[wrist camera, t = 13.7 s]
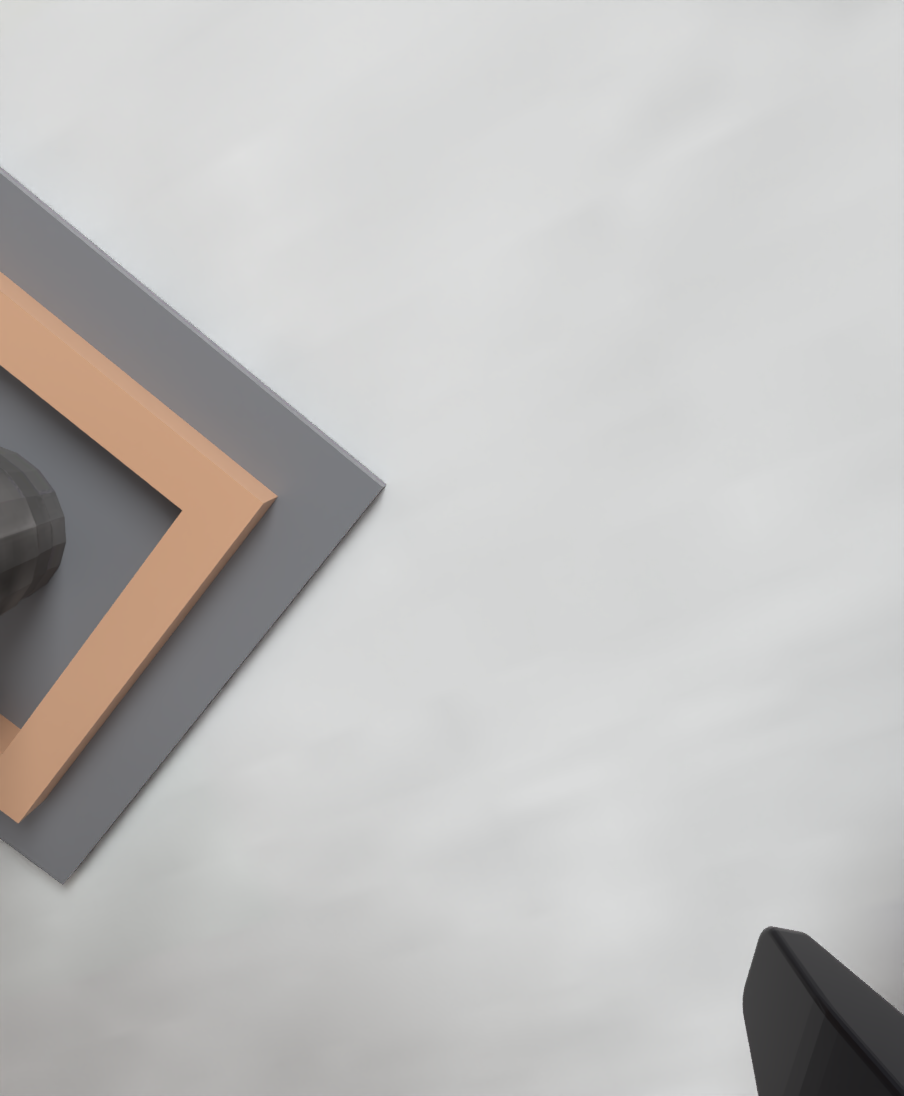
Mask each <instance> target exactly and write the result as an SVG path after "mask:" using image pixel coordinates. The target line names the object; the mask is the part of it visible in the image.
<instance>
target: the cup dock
mask: <svg viewBox="0 0 904 1096" xmlns="http://www.w3.org/2000/svg"><path fill="white" fill-rule="evenodd" d="M0 447H3V448H5V449H8V450H10V451H13V452H16V453H18V454H19V455H20V456H22V457H23V458H24V459H26V460H27V461H28V462H30V463H31V464H32V465H33V466H35V467H36V468H37V469H39V470H40V472H41V473H42V475H43V476H44V477H45V479H46V480H47V481H48V483H49V484H50V485H51V487H52V488H53V489H54V491H55V493H56V495H57V498H58V501H59V503H60V506H61V509H62V511H63V514H64V517H65V533H66V544H65V548H64V551H63V555H62V559H61V563H60V565H59V567H58V568H57V570H56V571H55V573H54V574H53V576H52V577H51V579H50V580H49V582H48V583H47V584H46V585H44V586H43V587H41V588H40V589H39V590H37V591H36V592H34V593H33V594H31V595H30V596H29V597H26V598H24V599H22V600H20V601H19V602H18V604H17V605H16V606H14V607H13V608H12V609H10V610H9V611H7V612H6V613H4V614H3V615H1V616H0V838H1V839H2V840H3V841H5V842H6V843H7V844H9V845H10V846H11V847H13V848H14V849H15V850H17V851H18V852H19V853H21V854H22V855H23V856H25V857H26V858H27V859H29V860H30V861H32V862H33V863H34V864H36V865H37V866H38V867H40V868H41V869H42V870H44V871H45V872H46V873H48V874H49V875H50V876H52V877H53V878H54V879H56V880H57V881H58V882H60V883H61V884H64V883H65V882H66V880H67V879H68V878H69V877H70V876H71V875H72V874H73V873H74V871H75V870H76V869H77V868H78V867H79V865H80V864H81V863H82V862H83V860H84V859H85V858H86V857H87V855H88V854H89V853H90V852H91V850H92V849H93V848H94V847H95V845H96V844H97V843H98V842H99V840H100V839H101V838H102V837H103V835H104V834H105V833H106V832H107V830H108V829H109V828H110V827H111V826H112V824H113V823H114V822H115V821H116V819H117V818H118V817H119V816H120V814H121V813H122V812H123V811H124V809H125V808H126V807H127V806H128V804H129V803H130V802H131V801H132V799H133V798H134V797H135V796H136V794H137V793H138V792H139V791H140V789H141V788H142V787H143V786H144V785H145V783H146V782H147V781H148V780H149V778H150V777H151V776H152V775H153V773H154V772H155V771H156V770H157V768H158V767H159V766H160V765H161V763H162V762H163V761H164V760H165V758H166V757H167V756H168V755H169V753H170V752H171V751H172V750H173V748H174V747H175V746H176V745H177V744H178V742H179V741H180V740H181V739H182V737H183V736H184V735H185V734H186V732H187V731H188V730H189V729H190V727H191V726H192V725H193V724H194V722H195V721H196V720H197V719H198V717H199V716H200V715H201V714H202V712H203V711H204V710H205V709H206V707H207V706H208V705H209V704H210V703H211V701H212V700H213V699H214V698H215V696H216V695H217V694H218V693H219V691H220V690H221V689H222V688H223V686H224V685H225V684H226V683H227V681H228V680H229V679H230V678H231V676H232V675H233V674H234V673H235V671H236V670H237V669H238V668H239V666H240V665H241V664H242V663H243V662H244V660H245V659H246V658H247V657H248V655H249V654H250V653H251V652H252V650H253V649H254V648H255V647H256V645H257V644H258V643H259V642H260V640H261V639H262V638H263V637H264V635H265V634H266V633H267V632H268V630H269V629H270V628H271V627H272V625H273V624H274V623H275V622H276V621H277V619H278V618H279V617H280V616H281V614H282V613H283V612H284V611H285V609H286V608H287V607H288V606H289V604H290V603H291V602H292V601H293V599H294V598H295V597H296V596H297V594H298V593H299V592H300V591H301V589H302V588H303V587H304V586H305V584H306V583H307V582H308V581H309V580H310V578H311V577H312V576H313V575H314V573H315V572H316V571H317V570H318V568H319V567H320V566H321V565H322V563H323V562H324V561H325V560H326V558H327V557H328V556H329V555H330V553H331V552H332V551H333V550H334V548H335V547H336V546H337V545H338V543H339V542H340V541H341V540H342V539H343V537H344V536H345V535H346V534H347V532H348V531H349V530H350V529H351V527H352V526H353V525H354V524H355V522H356V521H357V520H358V519H359V517H360V516H361V515H362V514H363V512H364V511H365V510H366V509H367V507H368V506H369V505H370V504H371V502H372V501H373V500H374V499H375V498H376V496H377V495H378V494H379V493H380V491H381V490H382V489H383V488H384V486H385V485H386V484H385V483H384V482H383V481H382V480H381V479H379V478H378V477H377V476H376V475H374V474H373V473H372V472H371V471H370V470H368V469H367V468H366V467H365V466H364V465H362V464H361V463H360V462H359V461H357V460H356V459H355V458H354V457H353V456H351V455H350V454H349V453H348V452H347V451H345V450H344V449H343V448H342V447H340V446H339V445H338V444H337V443H336V442H334V441H333V440H332V439H331V438H330V437H328V436H327V435H326V434H325V433H323V432H322V431H321V430H320V429H319V428H317V427H316V426H315V425H314V424H312V423H311V422H310V421H309V420H308V419H306V418H305V417H304V416H303V415H302V414H300V413H299V412H298V411H297V410H295V409H294V408H293V407H292V406H291V405H289V404H288V403H287V402H286V401H285V400H283V399H282V398H281V397H280V396H278V395H277V394H276V393H275V392H274V391H272V390H271V389H270V388H269V387H268V386H266V385H265V384H264V383H263V382H261V381H260V380H259V379H258V378H257V377H255V376H254V375H253V374H252V373H250V372H249V371H248V370H247V369H246V368H244V367H243V366H242V365H241V364H240V363H238V362H237V361H236V360H235V359H233V358H232V357H231V356H230V355H229V354H227V353H226V352H225V351H224V350H223V349H221V348H220V347H219V346H218V345H216V344H215V343H214V342H213V341H212V340H210V339H209V338H208V337H207V336H205V335H204V334H203V333H202V332H201V331H199V330H198V329H197V328H196V327H195V326H193V325H192V324H191V323H190V322H188V321H187V320H186V319H185V318H184V317H182V316H181V315H180V314H179V313H178V312H176V311H175V310H174V309H173V308H171V307H170V306H169V305H168V304H167V303H165V302H164V301H163V300H162V299H161V298H159V297H158V296H157V295H156V294H154V293H153V292H152V291H151V290H150V289H148V288H147V287H146V286H145V285H143V284H142V283H141V282H140V281H139V280H137V279H136V278H135V277H134V276H133V275H131V274H130V273H129V272H128V271H126V270H125V269H124V268H123V267H122V266H120V265H119V264H118V263H117V262H116V261H114V260H113V259H112V258H111V257H109V256H108V255H107V254H106V253H105V252H103V251H102V250H101V249H100V248H99V247H97V246H96V245H95V244H94V243H92V242H91V241H90V240H89V239H88V238H86V237H85V236H84V235H83V234H81V233H80V232H79V231H78V230H77V229H75V228H74V227H73V226H72V225H71V224H69V223H68V222H67V221H66V220H64V219H63V218H62V217H61V216H60V215H58V214H57V213H56V212H55V211H54V210H52V209H51V208H50V207H49V206H47V205H46V204H45V203H44V202H43V201H41V200H40V199H39V198H38V197H37V196H35V195H34V194H33V193H32V192H30V191H29V190H28V189H27V188H26V187H24V186H23V185H22V184H21V183H19V182H18V181H17V180H16V179H15V178H13V177H12V176H11V175H10V174H9V173H7V172H6V171H5V170H4V169H2V168H1V167H0Z"/></svg>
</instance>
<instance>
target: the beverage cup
mask: <svg viewBox="0 0 904 1096" xmlns="http://www.w3.org/2000/svg"><path fill="white" fill-rule="evenodd" d="M65 544H66V533H65V517H64V514H63V511H62V509H61V506H60V503H59V501H58V498H57V495H56V493H55V491H54V489H53V488H52V487H51V485H50V484H49V483H48V481H47V480H46V479H45V477H44V476H43V475H42V473H41V472H40V470H39V469H37V468H36V467H35V466H33V465H32V464H31V463H30V462H28V461H27V460H26V459H24V458H23V457H22V456H20V455H19V454H18V453H16V452H13V451H10V450H8V449H5V448H3V447H0V616H1V615H3V614H4V613H6V612H7V611H9V610H10V609H12V608H13V607H14V606H16V605H17V604H18V602H19V601H20V600H22V599H24V598H26V597H29V596H30V595H31V594H33V593H34V592H36V591H37V590H39V589H40V588H41V587H43V586H44V585H46V584H47V583H48V582H49V580H50V579H51V577H52V576H53V574H54V573H55V571H56V570H57V568H58V567H59V565H60V563H61V559H62V555H63V551H64V548H65Z"/></svg>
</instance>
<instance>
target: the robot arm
mask: <svg viewBox="0 0 904 1096" xmlns="http://www.w3.org/2000/svg"><path fill="white" fill-rule="evenodd" d="M743 1014H744V1020H745V1026H746V1031H747V1037H748V1042H749V1047H750V1053H751V1058H752V1064H753V1069H754V1074H755V1080H756V1085H757V1091H758V1096H904V1015H903V1014H902V1013H900V1012H899V1011H898V1010H897V1009H896V1008H894V1007H893V1006H892V1005H891V1004H890V1003H888V1002H887V1001H886V1000H885V999H884V998H883V997H881V996H880V995H879V994H878V993H877V992H875V991H874V990H873V989H872V988H871V987H869V986H868V985H867V984H866V983H865V982H863V981H862V980H861V979H860V978H859V977H857V976H856V975H855V974H854V973H853V972H852V971H850V970H849V969H848V968H847V967H846V966H844V965H843V964H842V963H841V962H840V961H838V960H837V959H836V958H835V957H834V956H832V955H831V954H830V953H829V952H828V951H826V950H825V949H824V948H823V947H822V946H821V945H819V944H818V943H817V942H816V941H815V940H813V939H812V938H811V937H810V936H808V935H807V934H805V933H803V932H799V931H794V930H789V929H783V928H778V927H773V926H769V927H768V928H766V929H764V930H763V931H762V933H761V935H760V937H759V940H758V943H757V946H756V950H755V953H754V956H753V960H752V963H751V967H750V970H749V973H748V977H747V980H746V984H745V987H744V992H743Z"/></svg>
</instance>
